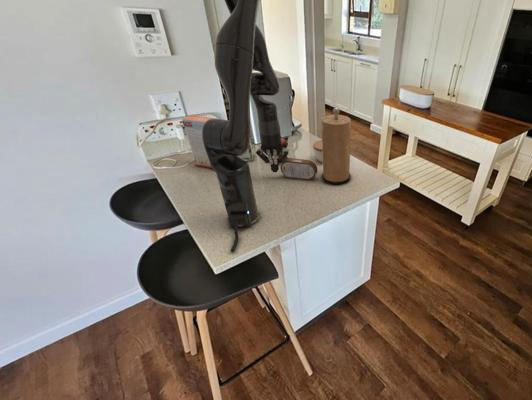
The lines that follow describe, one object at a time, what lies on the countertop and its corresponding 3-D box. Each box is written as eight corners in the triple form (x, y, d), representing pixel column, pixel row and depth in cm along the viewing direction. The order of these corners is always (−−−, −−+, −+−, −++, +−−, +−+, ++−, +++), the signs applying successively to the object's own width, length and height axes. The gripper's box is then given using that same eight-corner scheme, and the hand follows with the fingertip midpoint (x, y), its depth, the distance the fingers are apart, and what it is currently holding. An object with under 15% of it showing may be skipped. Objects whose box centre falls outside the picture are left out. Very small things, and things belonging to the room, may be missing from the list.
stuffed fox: (287, 153, 135) (285, 129, 128) (292, 163, 127) (289, 138, 120) (271, 155, 133) (268, 131, 126) (275, 166, 124) (271, 140, 117)
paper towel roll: (351, 185, 114) (353, 112, 97) (321, 185, 113) (319, 112, 96) (349, 171, 124) (351, 103, 107) (322, 171, 123) (320, 102, 106)
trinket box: (322, 167, 125) (321, 147, 120) (309, 158, 132) (308, 139, 127) (341, 161, 131) (341, 142, 126) (327, 153, 138) (327, 134, 133)
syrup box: (239, 161, 126) (232, 130, 118) (240, 156, 131) (234, 126, 122) (253, 160, 127) (247, 130, 119) (253, 155, 132) (248, 125, 124)
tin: (318, 177, 118) (317, 159, 113) (316, 181, 115) (315, 163, 110) (283, 174, 118) (281, 156, 114) (280, 178, 116) (278, 159, 111)
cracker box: (232, 165, 123) (221, 118, 111) (223, 171, 118) (211, 123, 106) (205, 159, 126) (192, 113, 114) (195, 165, 121) (180, 118, 109)
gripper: (249, 134, 101) (256, 176, 110) (286, 134, 102) (290, 176, 112) (253, 126, 107) (260, 167, 117) (289, 127, 108) (292, 167, 118)
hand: (275, 171), depth 114 cm, fingers closed
